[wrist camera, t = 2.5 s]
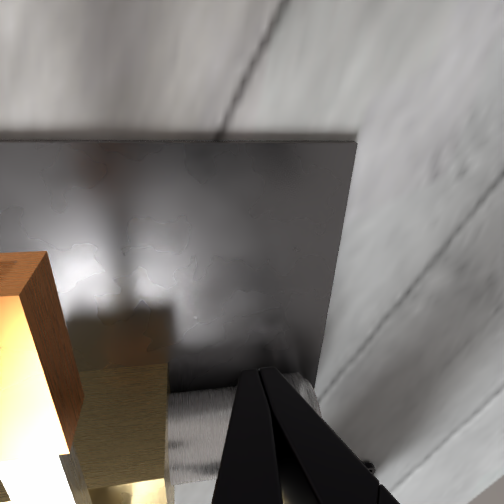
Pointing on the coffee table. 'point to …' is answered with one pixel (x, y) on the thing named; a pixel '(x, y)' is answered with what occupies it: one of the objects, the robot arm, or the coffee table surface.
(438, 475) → the coffee table surface
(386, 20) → the coffee table surface
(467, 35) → the coffee table surface
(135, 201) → the pipe on metal plate
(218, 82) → the coffee table surface
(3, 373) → the valve lever
